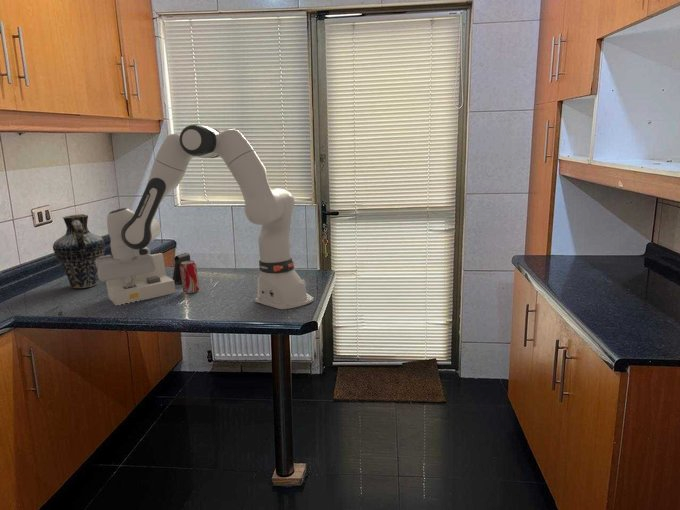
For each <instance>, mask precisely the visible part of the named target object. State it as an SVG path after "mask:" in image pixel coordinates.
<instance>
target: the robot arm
mask: <svg viewBox="0 0 680 510" xmlns="http://www.w3.org/2000/svg"><path fill="white" fill-rule="evenodd" d="M194 157H198V158H201V159H215V158H219V157H220V158H221V159H222V161H223V162H224V163H225V166H226V167H227V168H228V170H229V172H230V173H231V174H232V177H233V178H234V180H235V181H236V184H237V185H238V186H239V189H240V191H241V193H242V194H241V195H242V198H243V200H244V213H245V216H246V218H247V220H248V221H250V223H252V224H253V225H258V226H261V230H260V233H259V235H258V240H257V241H258V253H259V254H258V255H259V260H258V267H259V271H260V273H259V276H258V277H257V297H255V299H254V302H255V303H259V304H261V305H265V306H267V307H270V308H275V309H278V310H287V309H294V308H297V307H298V308H299V307H302V306H305V305H308V304H310V303H313V301H314V300H315V299H314V297H313V296H312V295H311V294H309V293H307V289H306V288H307V287H306V280H305V279H302V278H301V277H300V276H299V274H298V273H297V272H296V270H295V262H294V261H293V259H292V258H293V257H291V245H290V243H291V242H290V231H291V223H292V214H293V211H294V208H295V204H296V202H295V197H294V196H293V194H292V193H291V192H290V191H289V190H287V189H284V188H280V187H279V188H277V187H276V188H272V187H271V186H270V183H269V181H268V176H267V169H266V166H265V165H264V163H263V162H262V160H261V159H260V157H259V156H258V154H257V153H256V150H254V148H253V146H252V145H251V143H250V142H249V141H248V139H246V137H245V136H244V135H243V134H242V132H240V131H239V130H238V129H236V128H230V129H226V130H224V131H222V132H221V131H220V130H218V129H216V128H212V127H210V126H207V125H203V124H201V125H200V124H195V123H194V124H190V125H187V126H185V127H184V128H183V129H182V130H181V132H180V134H178V133H170V134H169V135H167V136H166V137H165V139H164V140H163V142H162V144H161V146H160V147H159V150H158V151H157V154H156V156H155V159H154V161H153V164H152V167H151V171H150V172H149V173H150V174H149V177H148V179H147V183H146V185H145V189H144V191H143V193H142V196H141V198H140V200H139V202H138V205H137V207H136V209H135V211H133V210H132V209H130V208H128V207H121V208H117V209H114V210H111V211H110V212H109V213H107V217H106V218H107V219H106V220H107V221H106V222H107V223H106V224H107V233H108V236H109V239H110V245H109V247H110V252H111V254H104V256H99V258H97V259H96V260H95V264H96V267H97V268H98V279H99V280H98V281H100V282H103V283H104V282H106V281H109V280H114V279H119V278H121V280H122V282H123V283H124V284H125V288H126V289H128V288H132V287H134V282H135V280H136V275H140V274H145V273H150V272H154V271H155V269H156V266H155V262H154V259H153V256H152V255H153V254H151V249H150V248H149V247H148V245H149V244H150V243H152V242H153V241H154V240H156V239H157V238H158V237H159V236H160V234H161V231H162V227H161V223H160V221H159V220H158V219H157V218H156V217H155V216H156V213H157V211H158V210H159V208H160V205H161V203H162V201H164V199H165V197H167V196H168V195H169V194H170V193H171V192H172V191H174V190H175V189H176V188H177V187H178V186H179V185H180V183H181V182H182V180H183V178H184V176H185V173H186V171H187V169H188V165H189V163H190V161H192V159H193V158H194ZM130 276H131V278H132V280H131V282H130V283H126V282H125V281H124V280H126V277H130Z"/></svg>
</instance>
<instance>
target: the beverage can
mask: <svg viewBox="0 0 680 510" xmlns="http://www.w3.org/2000/svg"><path fill="white" fill-rule="evenodd" d="M180 273H181V280H182V285H181V287H182V292H183V293H185V294H194V293H197V292H198V291H199V290H200V282H199V281H198V280H199V277H198V276H199V275H198V267H197V264H196V262H195V261H194V260H191V261H184V262H181V265H180Z"/></svg>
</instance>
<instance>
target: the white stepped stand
mask: <svg viewBox="0 0 680 510" xmlns="http://www.w3.org/2000/svg"><path fill="white" fill-rule="evenodd" d="M151 255H152V256H153V259H154V262H155V266H156V269H155V271H154V272H150V273H145V274H140V275H136V280H135V282H134V286H135V287H133V288H129V289H124V288H123V287H125V284H124V283H123V282H122V280H121V278H119V279H114V280H109V281H105V283H106V290H107V295H108V299H109V300H110V301H111V302H112V303H113V304H114V305H115V306H116V305H119V306H122V305H121V304H123V305H126V304H125V303H128V304H131V303H130V302H132V303H136V302H135V301H137V302H141V301H145V299H146V300H151V299H154V298H159V297H162V296H166V295H172V294H175V293H176V292H177V291H176V284H175V283H174V280H173V278H171V277H170V276H168V275H167V274H166V268H165V267H166V266H165V259H164V258H165V257H164V254H163V252H161V253H160V252H159V253H154V254H151ZM153 276H158V277H159V278H160V282H157V283H153V284H148V283H147V278H149V277H153ZM131 280H132V278H131V276H130V277H126V280H124V281H125V282H126V283H130V282H131ZM140 300H141V301H140Z"/></svg>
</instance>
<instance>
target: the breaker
mask: <svg viewBox="0 0 680 510" xmlns="http://www.w3.org/2000/svg"><path fill="white" fill-rule="evenodd" d="M157 282H160V278H159V277H158V276H153V277H149V278H147V283H148V284H153V283H157Z"/></svg>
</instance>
